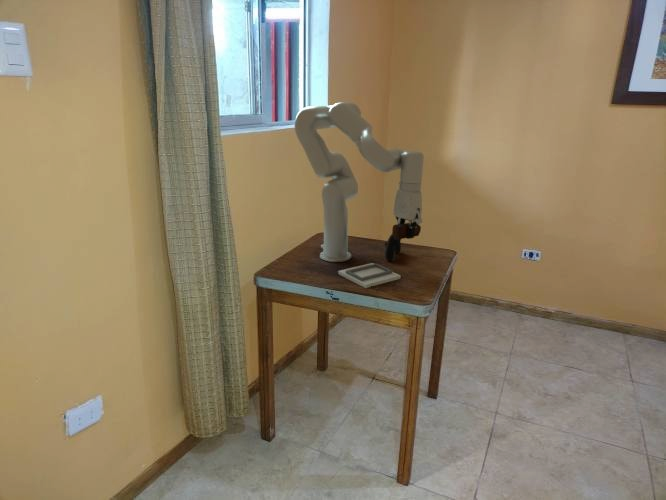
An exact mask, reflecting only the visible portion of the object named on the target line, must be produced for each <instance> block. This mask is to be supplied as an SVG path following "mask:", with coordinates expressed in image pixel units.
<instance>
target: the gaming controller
mask: <svg viewBox="0 0 666 500" xmlns="http://www.w3.org/2000/svg"><path fill="white" fill-rule="evenodd" d="M401 240H402V239H397V238H394V237H392V233H391V234H390V235H389V237H388V239H387V242H385V243H384V246H385V253H384V255H385V256H384V257H385V259H386V261H387V262H392V261H393V260H394V257H395V253H396V254H399V253H400V252H401V248H402V243H401Z"/></svg>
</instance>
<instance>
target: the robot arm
mask: <svg viewBox="0 0 666 500" xmlns="http://www.w3.org/2000/svg"><path fill="white" fill-rule="evenodd" d="M361 113H362V112H361V109H360V107H359V106H358V105H357V104H355V103H354V102H352V101H351V102H350V101H348V102H347V101H340V102H336V103H334V104H333V105H321V106H320V105H310V106H305V107H303V108H302V109H300V110H299V111H298V112H297V115H296V117H295V120H294V131H295V135H296V137H297V140H298V141H299V143H300V145H301V146H302V149H303V151H304V153H305V155H306V156H307V160H308V162H309V163H310V166H311V167H312V170H313V172H314V173H315V175H316V176H317V177H318V178H319V179H329V178H331V179H330V180H328V181H327V182H325V183H324V185H323V186H322V189H321V198H322V199H321V200H322V207H323V243H322V244H320V248H322V252H320V253H319V258H320V259H321V260H323V261H326V262H331V263H339V262H340V263H342V262H347V261H348V260H350V259H351V258H352V254H351V253H350V252H349V251H348V243H349V242H348V241H349V240H348V239H349V234H348V232H349V229H348V228H349V211H348V207H347V202H348V201H351V200H352V199H354V198H355V197H356V196H357V194H358V192H359V184H358V182H357V180H356V179H357V178H356V177H355V175H354V172H353V170H352V168H351V166H350V165H349V162H348V161H347V159H346V157H345V156H344V155H343V154H342V153H340V152H337V151H330V149H329V148H328V146H327V144H326V142H325V140H324V138H323V137H322V136H321V134H319V132H318V131H317V130H322V129H324V130H325V129H332V128H338V129H339V130H340V131H341V132H342V133H343V134H344V135H345V136H347V137H348V139H350V140H351V141H352V143H354V144H355V146H356V147H357V150H358V151H359V153H360V156H361V157H362V158H364V159H365V161H366V162H368V163H369V164H370V165H371V166H373V168H374V169H376V171H379V172H382V173H389V172H392V171H393V172H394V171H398V170H400V171H399V172H400V174H399V175H400V176H399V182H398V185H399V187H398V188H397V191H396V194H395V198H394V199H395V200H394V205H393V216H394V217H395V219H396V223H397V224H404V223H406V221H408V223H409V228H408V229H407V238H406V239H408V240H409V239H413V238H415V236H414V233H415V228H416V227H417V225H420V224H422V223H423V218H422V213H423V212H422V211H423V210H422V209H423V200H422V199H423V197H422V192H421V189H422V180H423V179H422V177H423V167H424V158H425V157H424V154H423V153H422V152H421V151H418V150H417V151H416V150H404V149H401V148H390V149H386V148H384V146H382V145H381V144H380V143H379V142H378V141H377V140H376V138H374V136H373V133H372V131H373V126H372V124H370V123H369V122H368V121H367V120H366V119H364V118H363V117H362V114H361ZM412 222H413V223H412Z"/></svg>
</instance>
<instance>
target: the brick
mask: <svg viewBox="0 0 666 500" xmlns="http://www.w3.org/2000/svg"><path fill="white" fill-rule="evenodd" d="M412 223H413V221H412ZM408 228H409V222H405V223H404V224H393V226H392V230H391V231H392V233H391V234H392V237H394V238H397V239H401V240H402V239H404V240H405V239H407V229H408ZM421 230H422V227H421V225H420V224H418V225H417V227H416V228H415V233H414V237H418V236H420V233H421Z"/></svg>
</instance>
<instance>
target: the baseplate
mask: <svg viewBox="0 0 666 500" xmlns="http://www.w3.org/2000/svg"><path fill="white" fill-rule="evenodd" d="M337 272H338V273H337V274H338V275H339V276H342V277H343V278H345V279H347V280H349V281H351V282H353V283H355V284H357V285H359V287H360V286H361V287H362V288H365V289H368V288H372V287H374V286H379V285H382V284H386V283H388V282H389V283H390V282H393V281H397V280H400V279H401V275H400V274H398V273H396V272H394V271H393V270H392V269H390V268H388V267H385V266H383V265H381V264H378V263H373V262H370V263H366V264H363V265H357V266H353V267H349V268H345V269H341V270H338V271H337ZM371 286H372V287H371Z"/></svg>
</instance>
